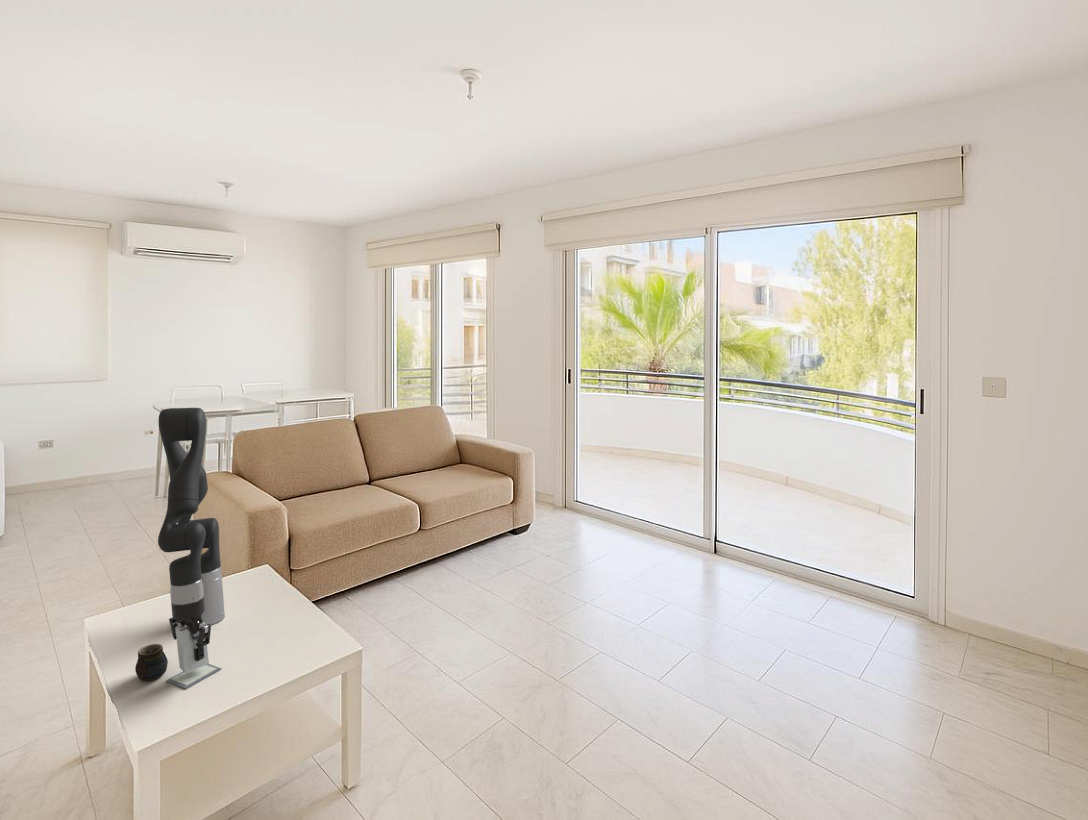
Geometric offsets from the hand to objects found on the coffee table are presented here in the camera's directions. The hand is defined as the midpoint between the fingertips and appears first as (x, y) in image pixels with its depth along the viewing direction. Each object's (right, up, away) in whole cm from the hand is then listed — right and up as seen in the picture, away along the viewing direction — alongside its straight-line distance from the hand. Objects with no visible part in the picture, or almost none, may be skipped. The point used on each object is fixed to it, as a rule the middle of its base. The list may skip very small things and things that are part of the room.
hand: (192, 656), depth 160 cm
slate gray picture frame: (0, -5, +1) cm, 5 cm away
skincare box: (0, -3, 0) cm, 3 cm away
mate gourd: (-11, -6, 0) cm, 12 cm away
